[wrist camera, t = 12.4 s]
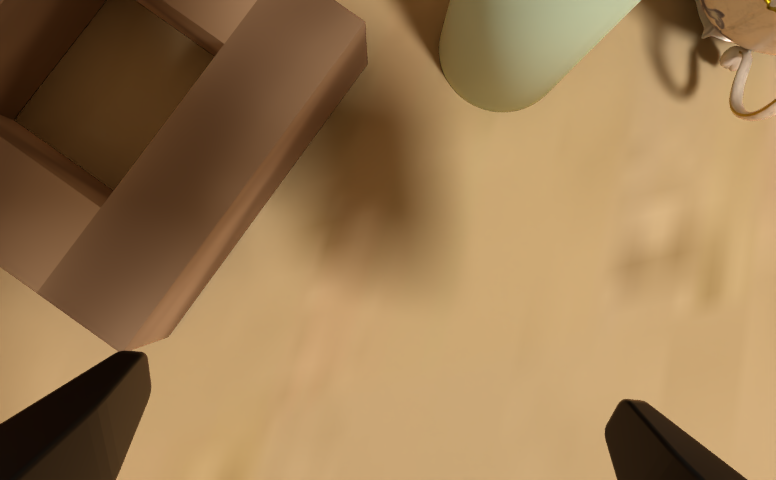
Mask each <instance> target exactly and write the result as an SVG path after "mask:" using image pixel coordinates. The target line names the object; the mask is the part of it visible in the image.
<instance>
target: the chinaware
mask: <svg viewBox="0 0 776 480" xmlns="http://www.w3.org/2000/svg"><path fill="white" fill-rule="evenodd" d="M695 1H696V4H697V10H698V14H699V17H700V20H701V22H702V25H703V27H704V31H703V33H702V36H701V37H702V39H705V38H707V37H709V36H713V37H716V38H719V39H721V40H724V41H729V42H733V43H735V44H737V45H739V46H733V47H730V48H729V49H728V50H726V51H725V52H724V53H723V55H722V57H721V59H720V65H721V66H724V68H728V69H729V70H730V71H736V70H737V72H736V75H735V78H734V81H733V84H732V88H731V92H730V98H729V104H730V108H731V111H732V112H733V114H734V115H735V116H737V117H739V118H741V119H744V120H749V121H758V120H763V119H767V118H770V117H772V116H774V115H776V99H775V100H773V101H772V102H771V103H769V104H768V105H766V106H765V107H763V108H762V109H760V110H757V111H754V112H747V111H746V110H745V108H744V106H743V92H744V87H745V83H746V79H747V76H748V73H749V70H750V67H751V64H752V55H751V51H755V52H759V53H764V54H769V55H776V0H695Z"/></svg>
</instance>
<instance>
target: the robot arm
mask: <svg viewBox="0 0 776 480" xmlns="http://www.w3.org/2000/svg"><path fill="white" fill-rule="evenodd" d="M150 393H151V380H150V372H149V364H148V358H147V355H146V354H145V353H143V352H136V351H126V350H123V351H119V352H117V353H115V354H113V355H112V356H110V357H108V358H107V359H105V360H104V361H102V362H100V363H99V364H97V365H95V366H94V367H92V368H91V369H89V370H87V371H86V372H84V373H82V374H81V375H79V376H78V377H76V378H74V379H73V380H71V381H69V382H68V383H66V384H65V385H63V386H61V387H60V388H58V389H56V390H55V391H53V392H52V393H50V394H48V395H47V396H45V397H43V398H42V399H40V400H39V401H37V402H35V403H34V404H32V405H30V406H29V407H27V408H26V409H24V410H22V411H21V412H19V413H17V414H16V415H14V416H13V417H11V418H9V419H8V420H6V421H4V422H3V423H1V424H0V480H116V478H117V476H118V474H119V471H120V469H121V466H122V464H123V462H124V459H125V457H126V454H127V452H128V449H129V447H130V444H131V442H132V439H133V437H134V434H135V432H136V429H137V427H138V424H139V422H140V420H141V417H142V415H143V412H144V410H145V407H146V405H147V402H148V400H149V397H150ZM605 439H606V443H607V446H608V450H609V453H610V457H611V460H612V463H613V467H614V470H615V474H616V477H617V480H747V479H746V478H745V477H743V476H742V475H741V474H739V473H738V472H737V471H735V470H734V469H733V468H731V467H730V466H729V465H728V464H726V463H725V462H724V461H722V460H721V459H720V458H718V457H717V456H716V455H715V454H713V453H712V452H711V451H709V450H708V449H707V448H705V447H704V446H703V445H701V444H700V443H699V442H698V441H696V440H695V439H694V438H692V437H691V436H690V435H688V434H687V433H686V432H685V431H683V430H682V429H681V428H679V427H678V426H677V425H675V424H674V423H673V422H672V421H670V420H669V419H668V418H666V417H665V416H664V415H662V414H661V413H660V412H658V411H657V410H656V409H655V408H653V407H652V406H651V405H649V404H648V403H647V402H644V401H641V400H631V399H623V400H622V401H620V402H619V404H618V405H617V407H616V409H615V411H614V412H613V414H612V416H611V418H610V419H609V421H608V423H607V425H606V428H605Z"/></svg>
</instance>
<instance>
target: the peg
mask: <svg viewBox="0 0 776 480" xmlns="http://www.w3.org/2000/svg"><path fill="white" fill-rule="evenodd" d="M640 1H641V0H450V2H449V6H448V9H447V13H446V17H445V20H444V24H443V28H442V31H441V35H440V40H439V58H440V64H441V67H442V70H443V73H444V75H445V77H446V79H447V81H448V82H449V84H450V86H451V87H452V88H453V89H454V90H455V92H456V93H457V94H458V95H460V96H461V97H462V98H463V99H464V100H466V101H467V102H469V103H470V104H472V105H474V106H476V107H479V108H481V109H484V110H488V111H493V112H512V111H517V110H521V109H524V108H527V107H529V106H531V105H533V104H535V103H536V102H538V101H539V100H540V99H542V98H543V97H544V96H545V95H546V94H547V93H548V92H549V91H550V90H551V89H552V88H553V87H554V86H555V85H556V84H557V83H558V82H559V81H560V80H561V79H562V78H563V77H564V76H565V75H566V74H567V73H568V72H569V71H570V70H571V69H572V68H573V67H574V66H575V65H576V64H577V63H578V62H579V61H580V60H582V59H583V58H584V57H585V56H586V55H587V54H588V53H589V52H590V51H591V50H592V49H593V48H594V47H595V46H596V45H597V44H598V43H599V42H600V41H601V40H602V39H603V38H604V37H605V36H606V35H607V34H608V33H609V32H610V31H611V30H612V29H613V28H614V27H615V26H616V25H617V24H618V23H619V22H620V21H621V20H622V19H623V18H624V17H625V16H626V15H627V14H628V13H629V12H630V11H631V10H632V9H633V8H634V7H635V6H636V5H637V4H638V3H639V2H640Z"/></svg>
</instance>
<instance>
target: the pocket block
mask: <svg viewBox="0 0 776 480" xmlns="http://www.w3.org/2000/svg"><path fill="white" fill-rule="evenodd" d="M105 1H106V0H0V267H1V268H2V269H4V270H5V271H7V272H8V273H9V274H11V275H12V276H14V277H15V278H16V279H18V280H19V281H21V282H22V283H23V284H25V285H26V286H28V287H29V288H30V289H32V290H33V291H35V292H36V293H37V294H39V295H40V296H42V297H43V298H44V299H46V300H47V301H49V302H50V303H51V304H53V305H54V306H56V307H57V308H58V309H60V310H61V311H63V312H64V313H65V314H67V315H68V316H70V317H71V318H72V319H74V320H75V321H77V322H78V323H79V324H81V325H82V326H84V327H85V328H86V329H88V330H89V331H91V332H92V333H93V334H95V335H96V336H98V337H99V338H100V339H102V340H103V341H104V342H106V343H107V344H109V345H110V346H111V347H113V348H114V349H116V350H117V351H118V352H119V351H123V350H126V351H130V350H133V349H136V348H139V347H142V346H144V345H147V344H150V343H153V342H156V341H158V340H161V339H164V338H167V337H169V335H170V334H171V333H172V331H173V330H174V328H175V327H176V326H177V324H178V323H179V322H180V320H181V319H182V317H183V316H184V315H185V313H186V312H187V311H188V309H189V308H190V306H191V305H192V304H193V302H194V301H195V300H196V298H197V297H198V296H199V294H200V293H201V291H202V290H203V289H204V287H205V286H206V285H207V283H208V282H209V280H210V279H211V278H212V276H213V275H214V274H215V272H216V271H217V269H218V268H219V267H220V265H221V264H222V263H223V261H224V260H225V259H226V257H227V256H228V254H229V253H230V252H231V250H232V249H233V248H234V246H235V245H236V243H237V242H238V241H239V239H240V238H241V237H242V235H243V234H244V232H245V231H246V230H247V228H248V227H249V226H250V224H251V223H252V222H253V220H254V219H255V217H256V216H257V215H258V213H259V212H260V211H261V209H262V208H263V206H264V205H265V204H266V202H267V201H268V200H269V198H270V197H271V195H272V194H273V193H274V191H275V190H276V189H277V187H278V186H279V185H280V183H281V182H282V180H283V179H284V178H285V176H286V175H287V174H288V172H289V171H290V169H291V168H292V167H293V165H294V164H295V163H296V161H297V160H298V158H299V157H300V156H301V154H302V153H303V152H304V150H305V149H306V148H307V146H308V145H309V143H310V142H311V141H312V139H313V138H314V137H315V135H316V134H317V132H318V131H319V130H320V128H321V127H322V126H323V124H324V123H325V121H326V120H327V119H328V117H329V116H330V115H331V113H332V112H333V110H334V109H335V108H336V106H337V105H338V104H339V102H340V101H341V100H342V98H343V97H344V95H345V94H346V93H347V91H348V90H349V89H350V87H351V86H352V84H353V83H354V82H355V80H356V79H357V78H358V76H359V75H360V73H361V72H362V71H363V69H364V68H365V67H366V65H367V64H368V61H367V43H366V24H365V21H363V20H362V19H361V18H359V17H358V16H356V15H355V14H353V13H352V12H351V11H349V10H348V9H346V8H345V7H343V6H342V5H341V4H339V3H338V2H336V1H335V0H136V1H137V2H138V3H140V4H141V5H143V6H144V7H146V8H147V9H148V10H150V11H151V12H153V13H154V14H156V15H157V16H158V17H160V18H161V19H163V20H164V21H165V22H167V23H168V24H170V25H171V26H173V27H174V28H175V29H177V30H178V31H180V32H181V33H182V34H184V35H185V36H187V37H188V38H190V39H191V40H192V41H194V42H195V43H197V44H198V45H200V46H201V47H202V48H204V49H205V50H207V51H208V52H209V53H211V54H212V55H214V56H215V57H214V58H213V59H212V61H211V62H210V63H209V65H208V66H207V67H206V69H205V70H204V71H203V73H202V74H201V75H200V77H199V78H198V79H197V81H196V82H195V83H194V85H193V86H192V87H191V89H190V90H189V91H188V93H187V94H186V95H185V97H184V98H183V99H182V101H181V102H180V103H179V105H178V106H177V107H176V109H175V110H174V111H173V113H172V114H171V115H170V117H169V118H168V119H167V120H166V122H165V123H164V124H163V126H162V127H161V128H160V130H159V131H158V132H157V134H156V135H155V136H154V138H153V139H152V140H151V142H150V143H149V144H148V146H147V147H146V148H145V150H144V151H143V152H142V154H141V155H140V156H139V158H138V159H137V160H136V162H135V163H134V164H133V166H132V167H131V168H130V170H129V171H128V172H127V174H126V175H125V176H124V178H123V179H122V180H121V181H120V183H119V184H118V185H117V187H116V188H115V189H114V191H113V190H111V189H110V188H109V187H107V186H106V185H104V184H103V183H101V182H100V181H99V180H97V179H96V178H94V177H93V176H92V175H90V174H89V173H87V172H86V171H85V170H83V169H82V168H80V167H79V166H78V165H76V164H75V163H73V162H72V161H71V160H69V159H68V158H66V157H65V156H64V155H62V154H61V153H59V152H58V151H56V150H55V149H54V148H52V147H51V146H49V145H48V144H47V143H45V142H44V141H42V140H41V139H40V138H38V137H37V136H35V135H34V134H33V133H31V132H30V131H28V130H27V129H26V128H24V127H23V126H21V125H20V124H18V123H17V122H16V121H14V118H15V117H16V116H17V114H18V113H19V112H20V111H21V109H22V108H23V107H24V105H25V104H26V103H27V102H28V100H29V99H30V98H31V96H32V95H33V94H34V93H35V91H36V90H37V89H38V87H39V86H40V85H41V84H42V82H43V81H44V80H45V78H46V77H47V76H48V75H49V73H50V72H51V71H52V69H53V68H54V67H55V66H56V64H57V63H58V62H59V60H60V59H61V58H62V57H63V55H64V54H65V53H66V51H67V50H68V49H69V48H70V46H71V45H72V44H73V42H74V41H75V40H76V39H77V37H78V36H79V35H80V33H81V32H82V31H83V30H84V28H85V27H86V26H87V24H88V23H89V22H90V21H91V19H92V18H93V17H94V15H95V14H96V13H97V12H98V10H99V9H100V8H101V6H102V5H103V4H104V3H105Z"/></svg>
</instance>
